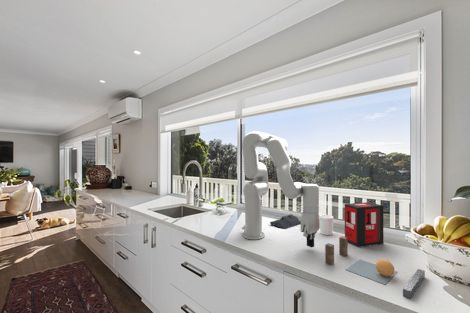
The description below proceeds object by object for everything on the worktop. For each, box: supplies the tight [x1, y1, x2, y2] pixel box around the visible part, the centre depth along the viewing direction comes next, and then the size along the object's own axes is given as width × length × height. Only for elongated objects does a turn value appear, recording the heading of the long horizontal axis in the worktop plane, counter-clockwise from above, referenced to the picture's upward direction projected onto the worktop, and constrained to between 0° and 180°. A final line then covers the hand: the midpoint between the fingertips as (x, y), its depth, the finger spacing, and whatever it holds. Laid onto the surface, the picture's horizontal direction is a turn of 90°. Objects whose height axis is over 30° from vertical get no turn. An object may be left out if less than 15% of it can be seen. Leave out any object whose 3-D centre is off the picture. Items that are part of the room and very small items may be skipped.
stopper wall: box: [402, 268, 426, 300], centre depth 81 cm, size 2×20×2 cm, turn 130°
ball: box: [375, 259, 396, 277], centre depth 88 cm, size 6×6×6 cm
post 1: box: [324, 243, 335, 266], centre depth 98 cm, size 3×3×8 cm
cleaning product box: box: [344, 201, 384, 248], centre depth 122 cm, size 16×9×20 cm, turn 105°
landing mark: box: [345, 258, 398, 285], centre depth 92 cm, size 14×14×1 cm
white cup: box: [319, 214, 334, 236], centre depth 136 cm, size 8×8×10 cm
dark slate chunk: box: [269, 213, 301, 230], centre depth 155 cm, size 15×22×5 cm
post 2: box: [338, 236, 349, 257], centre depth 106 cm, size 3×3×8 cm
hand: (310, 246), depth 112 cm, fingers closed
